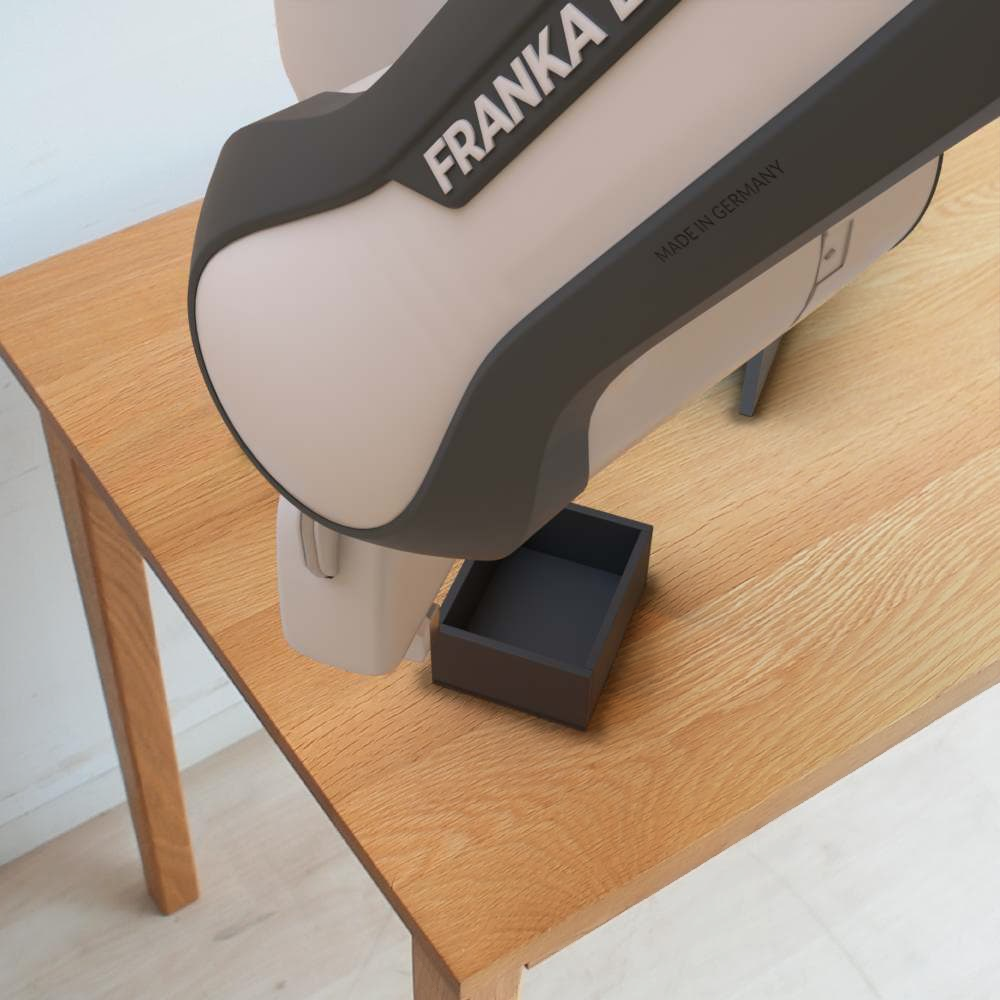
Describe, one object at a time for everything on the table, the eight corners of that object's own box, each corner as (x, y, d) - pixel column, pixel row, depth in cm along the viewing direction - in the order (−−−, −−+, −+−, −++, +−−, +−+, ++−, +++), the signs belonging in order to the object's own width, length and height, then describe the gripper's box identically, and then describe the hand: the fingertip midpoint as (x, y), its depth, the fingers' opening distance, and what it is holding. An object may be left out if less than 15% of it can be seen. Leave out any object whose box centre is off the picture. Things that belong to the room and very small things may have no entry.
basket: (585, 733, 69) (590, 678, 66) (431, 683, 71) (428, 628, 68) (646, 581, 76) (654, 525, 72) (504, 540, 78) (504, 483, 74)
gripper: (408, 519, 37) (429, 801, 47) (647, 107, 50) (623, 399, 60) (191, 455, 39) (257, 741, 49) (477, 72, 51) (482, 362, 62)
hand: (461, 549), depth 55 cm, fingers open, 8 cm apart
